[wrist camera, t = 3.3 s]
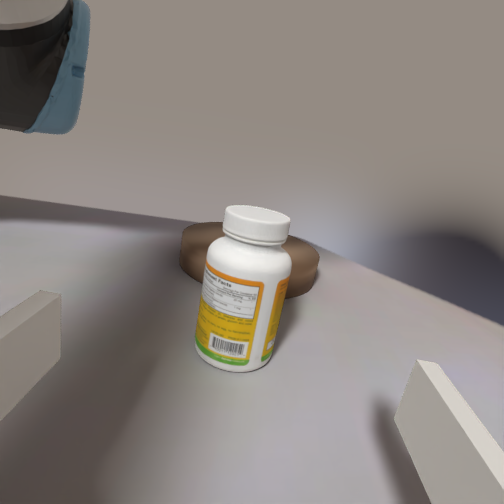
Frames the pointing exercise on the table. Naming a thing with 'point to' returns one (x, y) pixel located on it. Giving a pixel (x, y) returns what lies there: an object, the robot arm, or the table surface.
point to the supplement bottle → (243, 289)
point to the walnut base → (204, 234)
